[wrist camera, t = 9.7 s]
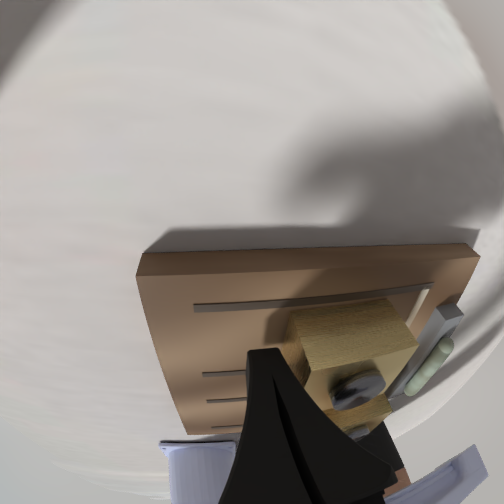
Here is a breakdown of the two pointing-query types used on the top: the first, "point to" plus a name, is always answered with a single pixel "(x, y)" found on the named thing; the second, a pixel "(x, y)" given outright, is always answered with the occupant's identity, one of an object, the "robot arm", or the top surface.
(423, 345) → the base
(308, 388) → the slide
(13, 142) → the top surface
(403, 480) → the travel mug
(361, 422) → the slide
